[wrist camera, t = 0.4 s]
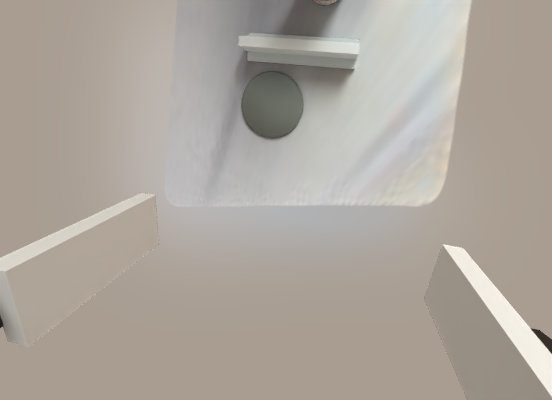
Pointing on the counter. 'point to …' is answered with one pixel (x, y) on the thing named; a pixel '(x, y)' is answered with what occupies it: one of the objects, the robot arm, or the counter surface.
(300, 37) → the divider
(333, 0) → the beer can
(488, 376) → the robot arm
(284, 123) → the coaster
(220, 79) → the counter surface
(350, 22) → the counter surface
